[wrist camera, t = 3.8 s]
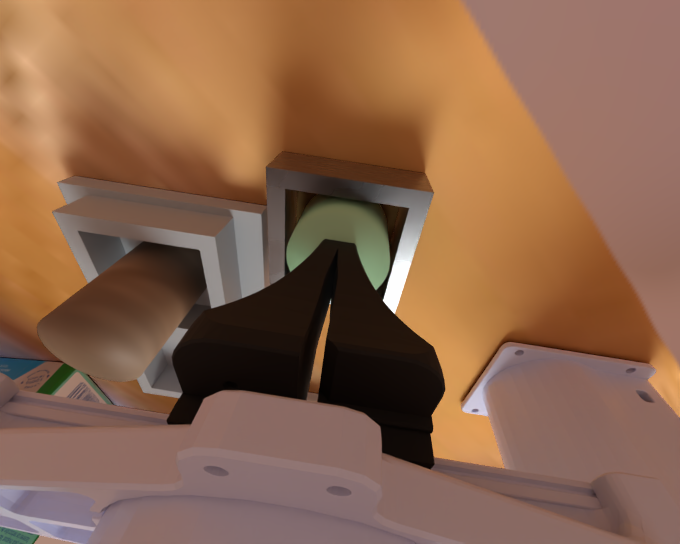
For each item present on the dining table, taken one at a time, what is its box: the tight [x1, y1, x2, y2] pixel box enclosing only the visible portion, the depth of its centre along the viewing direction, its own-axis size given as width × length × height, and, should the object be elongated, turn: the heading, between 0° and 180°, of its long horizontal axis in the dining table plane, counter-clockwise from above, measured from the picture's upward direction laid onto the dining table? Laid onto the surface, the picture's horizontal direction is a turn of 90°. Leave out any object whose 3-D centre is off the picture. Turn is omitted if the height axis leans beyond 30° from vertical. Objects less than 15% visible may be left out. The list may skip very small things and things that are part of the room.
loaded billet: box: [37, 241, 207, 382], centre depth 14 cm, size 4×4×6 cm
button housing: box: [266, 151, 434, 314], centre depth 14 cm, size 6×6×2 cm
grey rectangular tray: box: [52, 176, 270, 398], centre depth 18 cm, size 10×15×3 cm, turn 173°
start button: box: [286, 194, 390, 290], centre depth 14 cm, size 4×4×3 cm
